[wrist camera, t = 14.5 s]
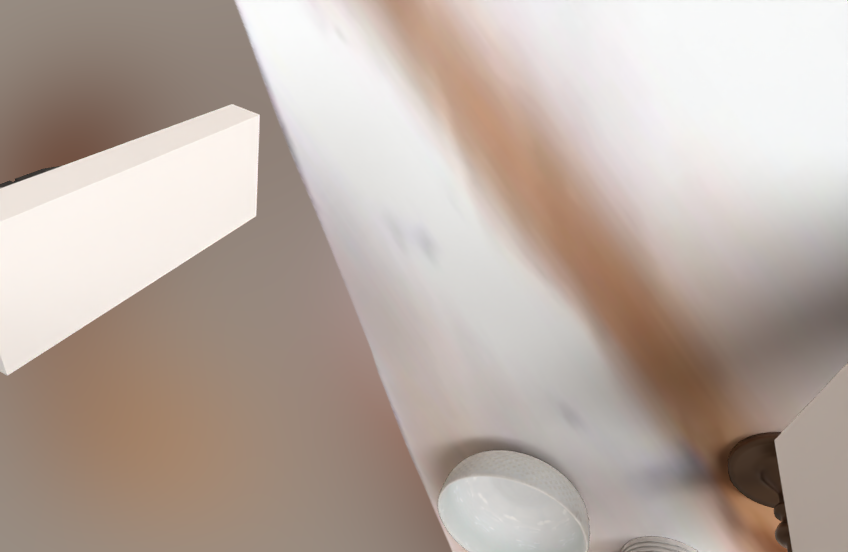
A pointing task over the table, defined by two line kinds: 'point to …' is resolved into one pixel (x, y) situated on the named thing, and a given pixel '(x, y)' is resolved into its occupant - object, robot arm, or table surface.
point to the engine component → (656, 545)
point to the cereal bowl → (512, 506)
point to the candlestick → (760, 477)
